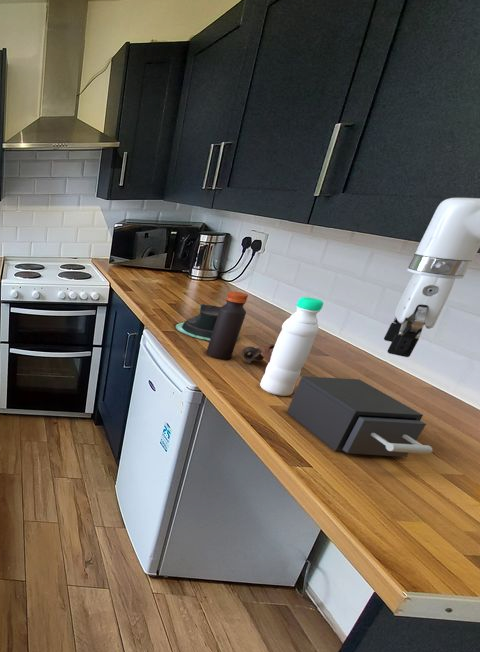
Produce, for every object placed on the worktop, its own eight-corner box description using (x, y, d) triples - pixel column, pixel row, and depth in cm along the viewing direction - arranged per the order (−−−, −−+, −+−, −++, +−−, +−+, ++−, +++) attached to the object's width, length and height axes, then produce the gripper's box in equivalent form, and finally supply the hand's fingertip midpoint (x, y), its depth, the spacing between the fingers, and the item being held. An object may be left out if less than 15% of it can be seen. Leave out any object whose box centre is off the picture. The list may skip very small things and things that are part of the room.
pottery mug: (267, 362, 123) (290, 346, 117) (274, 386, 117) (298, 371, 111) (231, 349, 123) (251, 333, 117) (235, 373, 118) (257, 357, 111)
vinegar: (225, 361, 121) (247, 298, 113) (202, 354, 126) (221, 292, 118) (234, 356, 125) (255, 294, 117) (211, 349, 130) (230, 289, 122)
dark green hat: (172, 316, 157) (229, 324, 152) (172, 353, 146) (232, 363, 141) (185, 288, 145) (247, 296, 140) (186, 326, 134) (253, 336, 129)
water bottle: (256, 389, 105) (291, 298, 95) (262, 381, 110) (296, 293, 100) (288, 400, 101) (329, 305, 91) (293, 391, 106) (332, 299, 95)
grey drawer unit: (399, 455, 82) (423, 415, 78) (335, 451, 82) (356, 411, 78) (341, 415, 95) (359, 379, 91) (286, 412, 96) (302, 376, 91)
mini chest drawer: (431, 474, 75) (454, 439, 72) (368, 470, 76) (387, 435, 72) (350, 418, 92) (365, 388, 89) (299, 415, 92) (312, 385, 89)
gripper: (477, 277, 69) (427, 366, 76) (457, 263, 81) (415, 342, 88) (415, 269, 73) (373, 354, 80) (405, 258, 85) (369, 332, 92)
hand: (395, 348), depth 84 cm, fingers open, 9 cm apart
